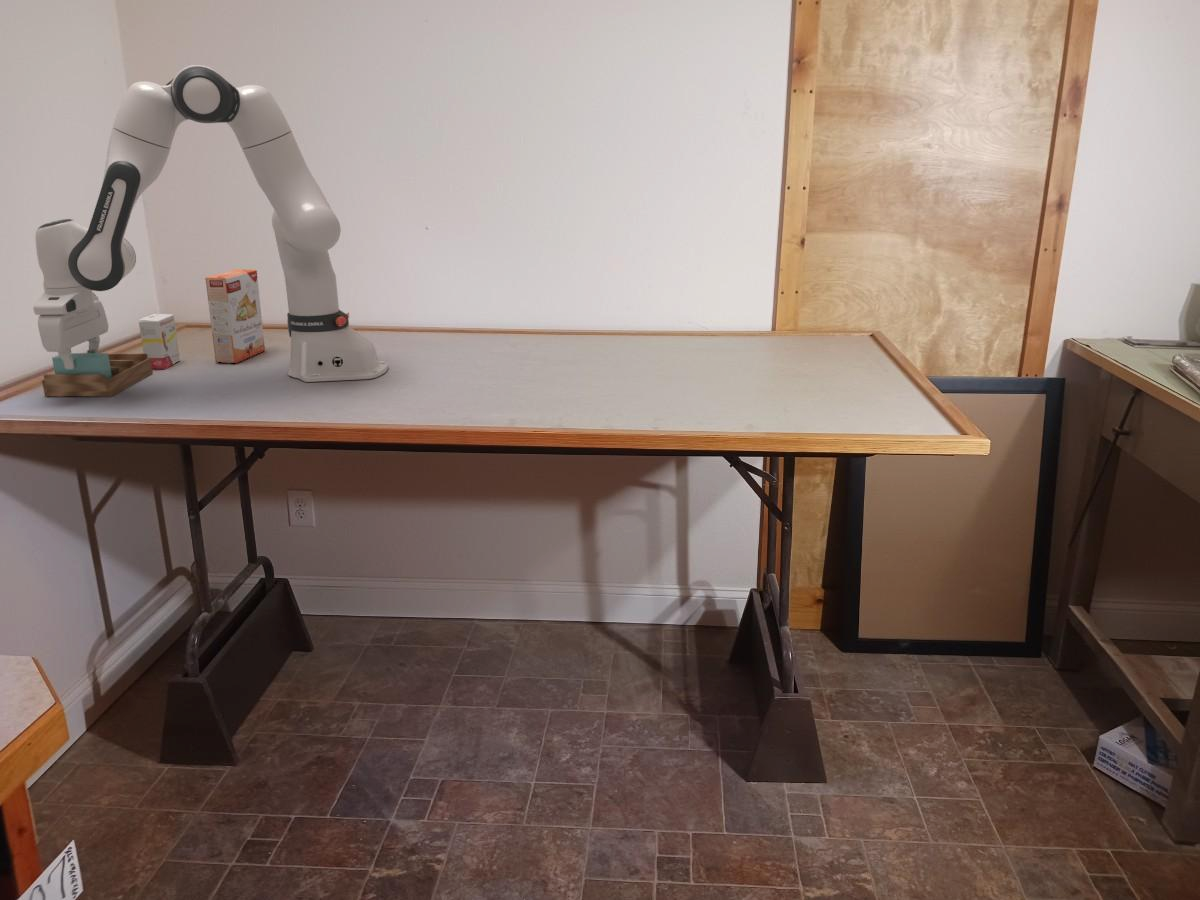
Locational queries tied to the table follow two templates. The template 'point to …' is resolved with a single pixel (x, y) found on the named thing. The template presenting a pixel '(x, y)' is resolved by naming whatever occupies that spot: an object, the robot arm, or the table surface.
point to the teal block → (85, 364)
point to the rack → (101, 377)
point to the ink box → (160, 340)
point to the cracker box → (235, 315)
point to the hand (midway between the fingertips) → (82, 362)
